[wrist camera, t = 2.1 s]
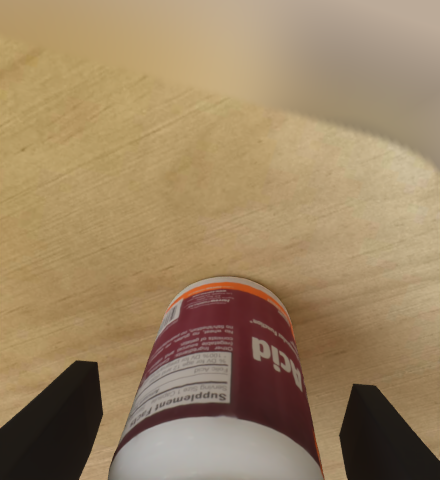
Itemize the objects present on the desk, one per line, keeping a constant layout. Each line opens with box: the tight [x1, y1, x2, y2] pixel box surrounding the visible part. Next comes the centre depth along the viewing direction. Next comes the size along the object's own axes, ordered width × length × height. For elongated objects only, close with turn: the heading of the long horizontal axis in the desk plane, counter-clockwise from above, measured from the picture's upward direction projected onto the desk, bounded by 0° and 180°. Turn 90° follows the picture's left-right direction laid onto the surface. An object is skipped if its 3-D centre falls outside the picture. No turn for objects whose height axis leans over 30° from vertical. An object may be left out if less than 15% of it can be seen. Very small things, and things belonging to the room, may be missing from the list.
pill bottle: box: [108, 276, 325, 480], centre depth 9 cm, size 5×5×8 cm
